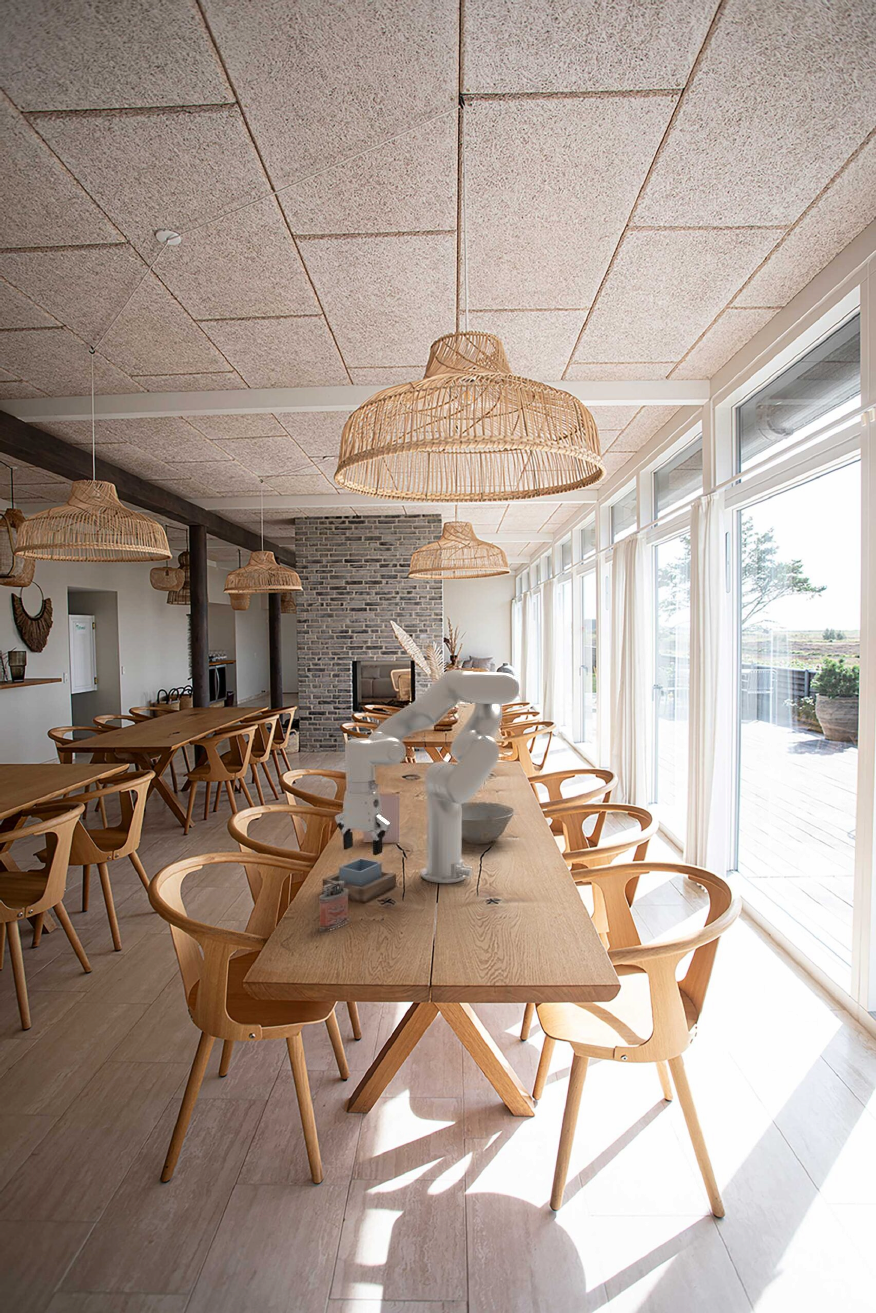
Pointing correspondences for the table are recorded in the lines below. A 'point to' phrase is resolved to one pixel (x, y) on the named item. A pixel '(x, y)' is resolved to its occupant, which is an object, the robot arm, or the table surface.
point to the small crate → (360, 872)
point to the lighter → (333, 906)
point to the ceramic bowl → (484, 821)
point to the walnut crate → (366, 887)
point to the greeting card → (388, 819)
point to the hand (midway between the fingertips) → (362, 851)
